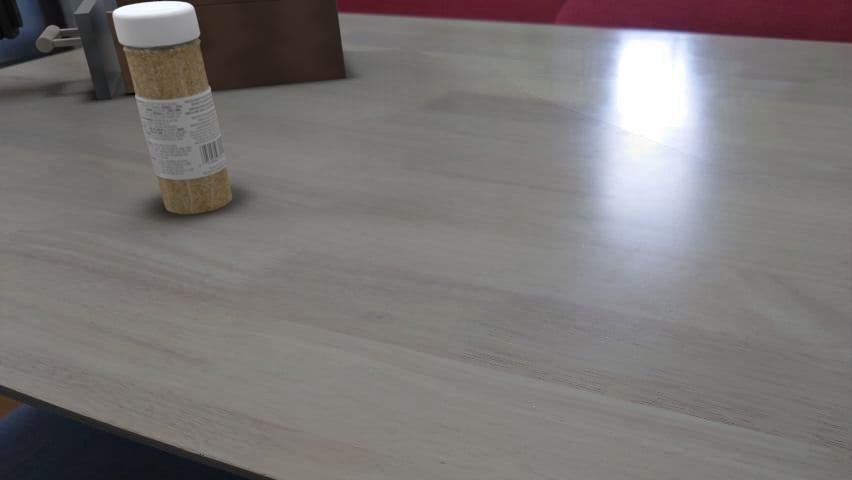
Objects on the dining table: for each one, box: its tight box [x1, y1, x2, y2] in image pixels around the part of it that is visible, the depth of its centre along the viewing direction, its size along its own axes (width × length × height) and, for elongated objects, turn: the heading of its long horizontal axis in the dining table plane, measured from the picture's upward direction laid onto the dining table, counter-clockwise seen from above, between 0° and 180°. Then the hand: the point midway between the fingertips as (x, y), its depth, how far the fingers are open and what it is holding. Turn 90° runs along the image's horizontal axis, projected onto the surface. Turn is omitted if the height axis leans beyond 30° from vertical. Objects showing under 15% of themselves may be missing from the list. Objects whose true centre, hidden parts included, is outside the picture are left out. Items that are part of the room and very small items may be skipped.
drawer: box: [35, 0, 171, 101], centre depth 80 cm, size 18×11×8 cm, turn 110°
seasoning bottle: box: [113, 1, 233, 215], centre depth 52 cm, size 5×5×14 cm
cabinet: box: [171, 0, 347, 92], centre depth 83 cm, size 15×13×10 cm
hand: (7, 36), depth 76 cm, fingers closed
